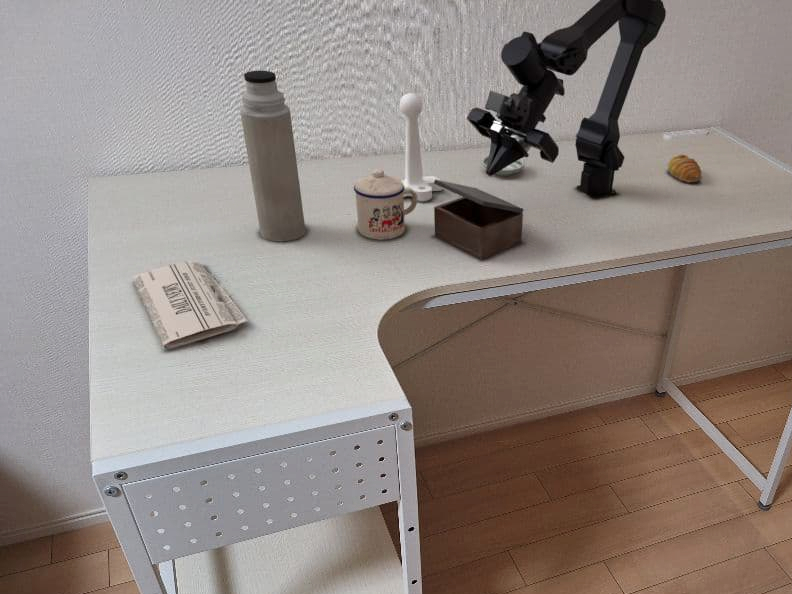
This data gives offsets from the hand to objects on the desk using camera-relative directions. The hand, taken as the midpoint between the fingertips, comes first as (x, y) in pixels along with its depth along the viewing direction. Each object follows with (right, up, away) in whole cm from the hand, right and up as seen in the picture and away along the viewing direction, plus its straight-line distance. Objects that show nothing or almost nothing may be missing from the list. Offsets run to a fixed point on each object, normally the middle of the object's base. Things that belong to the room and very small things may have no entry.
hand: (488, 174), depth 139 cm
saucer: (+1, +11, +34) cm, 35 cm away
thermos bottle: (-38, -10, +3) cm, 40 cm away
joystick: (-16, +2, +21) cm, 26 cm away
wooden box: (-2, -11, +6) cm, 12 cm away
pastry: (+43, +11, +40) cm, 59 cm away
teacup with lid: (-19, -8, +7) cm, 22 cm away
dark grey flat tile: (-2, -4, +1) cm, 5 cm away
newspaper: (-46, -26, -18) cm, 56 cm away
